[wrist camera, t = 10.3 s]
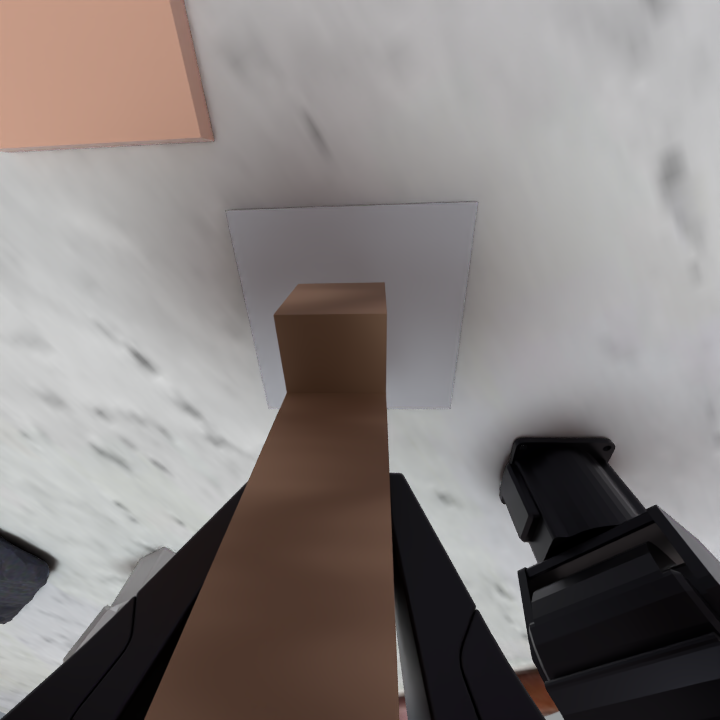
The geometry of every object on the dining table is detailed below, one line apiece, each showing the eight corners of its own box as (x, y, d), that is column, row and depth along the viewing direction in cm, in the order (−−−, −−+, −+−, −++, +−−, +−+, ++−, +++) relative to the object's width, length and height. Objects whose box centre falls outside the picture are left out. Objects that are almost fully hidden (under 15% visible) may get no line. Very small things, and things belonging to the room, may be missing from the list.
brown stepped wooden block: (384, 282, 11) (413, 691, 2) (383, 453, 15) (391, 848, 6) (298, 283, 11) (-10, 668, 2) (319, 452, 15) (236, 835, 6)
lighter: (164, 546, 31) (102, 653, 24) (178, 555, 31) (122, 661, 24) (122, 567, 33) (55, 670, 26) (137, 575, 34) (74, 677, 27)
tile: (218, 142, 15) (148, -187, 10) (201, 137, 13) (111, -249, 9) (17, 152, 15) (-128, -156, 11) (-21, 149, 14) (-207, -208, 10)
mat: (475, 201, 15) (478, 201, 15) (449, 404, 21) (450, 408, 20) (229, 209, 16) (225, 210, 15) (270, 404, 22) (268, 408, 21)
